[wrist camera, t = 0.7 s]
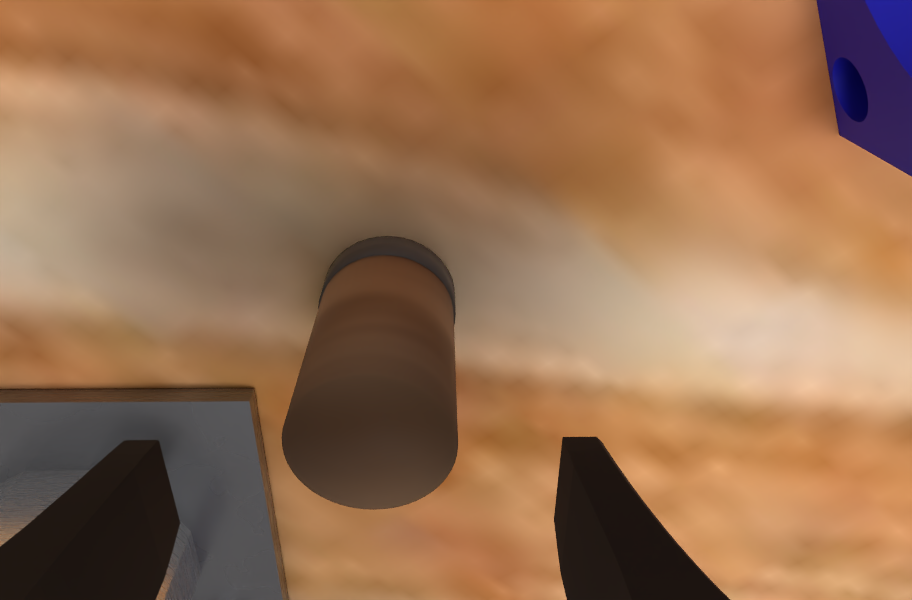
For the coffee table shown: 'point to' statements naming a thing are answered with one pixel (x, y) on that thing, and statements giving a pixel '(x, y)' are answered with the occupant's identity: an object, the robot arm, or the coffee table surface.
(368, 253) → the dowel
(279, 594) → the cup bracket
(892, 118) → the cable clip
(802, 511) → the coffee table surface
